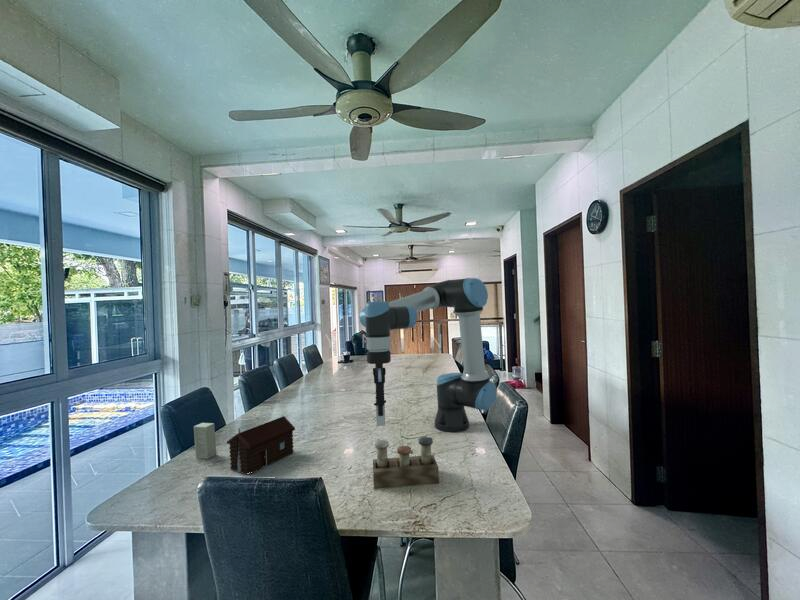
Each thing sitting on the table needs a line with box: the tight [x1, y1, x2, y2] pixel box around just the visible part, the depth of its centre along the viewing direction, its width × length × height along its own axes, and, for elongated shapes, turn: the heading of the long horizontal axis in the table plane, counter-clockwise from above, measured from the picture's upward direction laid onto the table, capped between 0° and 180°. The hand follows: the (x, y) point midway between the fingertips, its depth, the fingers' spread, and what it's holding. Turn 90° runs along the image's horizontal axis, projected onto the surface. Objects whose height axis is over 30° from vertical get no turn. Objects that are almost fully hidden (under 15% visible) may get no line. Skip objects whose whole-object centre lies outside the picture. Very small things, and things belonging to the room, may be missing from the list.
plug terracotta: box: [396, 445, 412, 467], centre depth 115 cm, size 4×4×8 cm
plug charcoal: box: [418, 436, 433, 465], centre depth 116 cm, size 4×4×8 cm
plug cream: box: [374, 439, 390, 468], centre depth 115 cm, size 4×4×8 cm
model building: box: [226, 415, 296, 474], centre depth 133 cm, size 21×12×15 cm, turn 150°
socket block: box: [372, 454, 440, 490], centre depth 115 cm, size 20×9×5 cm, turn 95°
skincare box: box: [193, 422, 217, 460], centre depth 139 cm, size 6×4×12 cm
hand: (380, 424), depth 114 cm, fingers closed
